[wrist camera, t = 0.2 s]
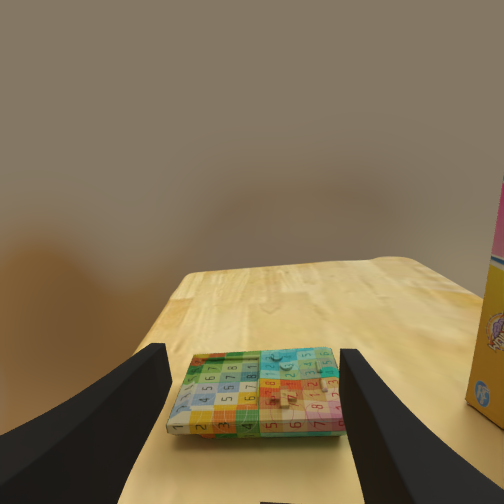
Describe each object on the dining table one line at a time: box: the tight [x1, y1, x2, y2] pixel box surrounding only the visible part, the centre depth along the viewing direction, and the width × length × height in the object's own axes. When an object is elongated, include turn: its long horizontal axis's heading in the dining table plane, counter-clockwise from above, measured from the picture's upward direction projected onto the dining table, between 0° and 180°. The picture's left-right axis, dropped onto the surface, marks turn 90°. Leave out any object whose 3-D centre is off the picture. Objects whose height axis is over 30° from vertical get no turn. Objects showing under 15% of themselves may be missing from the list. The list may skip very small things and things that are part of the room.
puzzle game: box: [166, 347, 347, 439], centre depth 35 cm, size 12×5×20 cm
